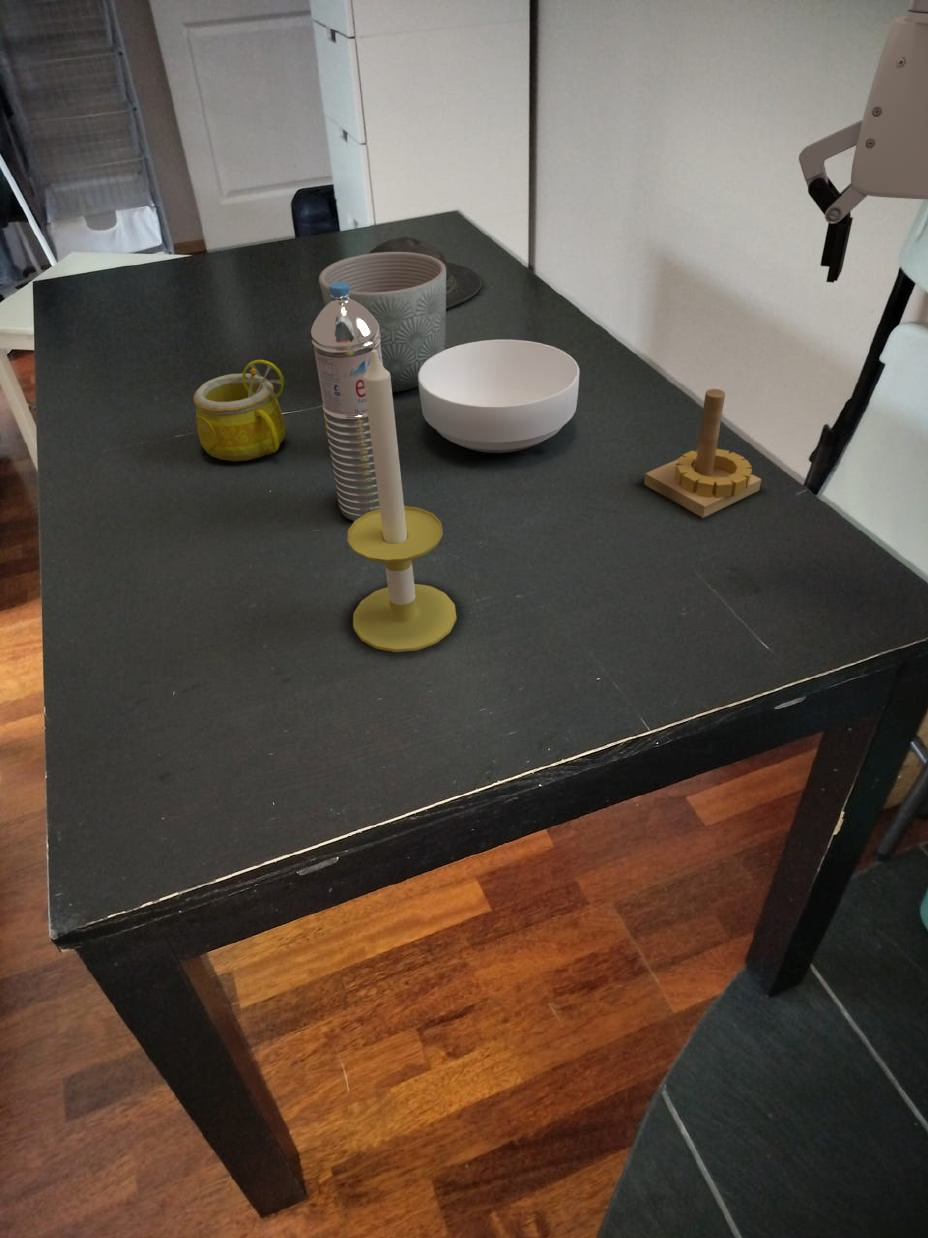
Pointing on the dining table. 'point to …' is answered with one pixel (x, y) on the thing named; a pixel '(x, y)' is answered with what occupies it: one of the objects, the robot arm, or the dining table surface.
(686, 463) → the ring
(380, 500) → the candle
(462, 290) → the hat
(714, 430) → the peg stand
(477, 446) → the bowl
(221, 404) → the mug
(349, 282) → the planter
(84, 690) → the dining table surface
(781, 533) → the dining table surface
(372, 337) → the water bottle
